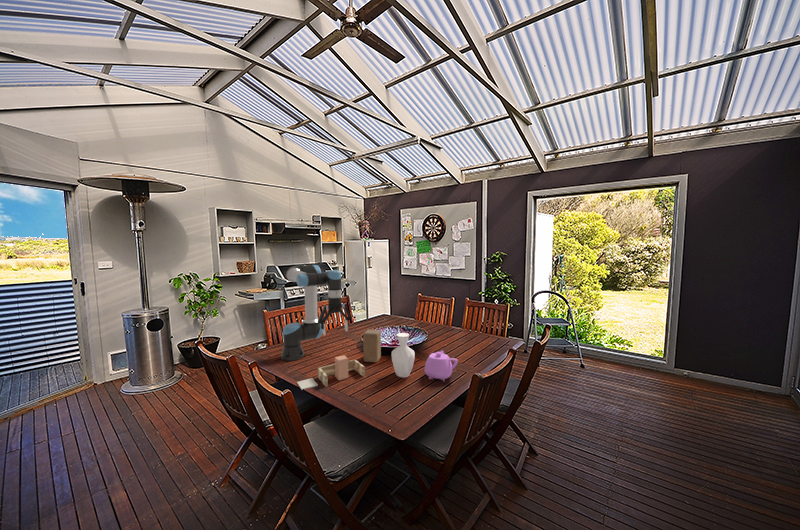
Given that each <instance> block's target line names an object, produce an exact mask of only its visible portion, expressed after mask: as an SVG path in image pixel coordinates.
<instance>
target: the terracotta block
mask: <svg viewBox="0 0 800 530" xmlns="http://www.w3.org/2000/svg"><path fill="white" fill-rule="evenodd" d="M348 361H349V358H348V357H347V356H346V355H345V354H344V355H339V356H335V357H334V364H335V374H334V377H335V378H336V380H338V381H342V380H347V379H348V378H349V371H348Z"/></svg>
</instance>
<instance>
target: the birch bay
mask: <svg viewBox="0 0 800 530" xmlns="http://www.w3.org/2000/svg"><path fill="white" fill-rule="evenodd" d="M349 371H355V372H357V373H358V374H359V375H361V377H363V378H364V377H366V366H365V365H363V364H362V363H360V362H359V361H358V360H357V359H354V358H353V359H351V360H348V372H349ZM329 376H335V363H333V364H329V365H324V366H320V367H317V378H318V379H319V381H320V382H321V383H322V385H323V386H324V387H325V388H326V387H328V385H329V383H328V382H329V381H328V379H329V378H328V377H329Z"/></svg>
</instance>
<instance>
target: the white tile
mask: <svg viewBox="0 0 800 530" xmlns="http://www.w3.org/2000/svg"><path fill="white" fill-rule="evenodd" d="M296 383H297V385H298V387H299V389H300V390H301V391H303V389H304V390H307V389H311V388H315V387H318V385H319V384H318V383H317V382H316V381H315V380H314V378H313V377H311V378H307V379H303V380H300V381H296Z"/></svg>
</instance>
